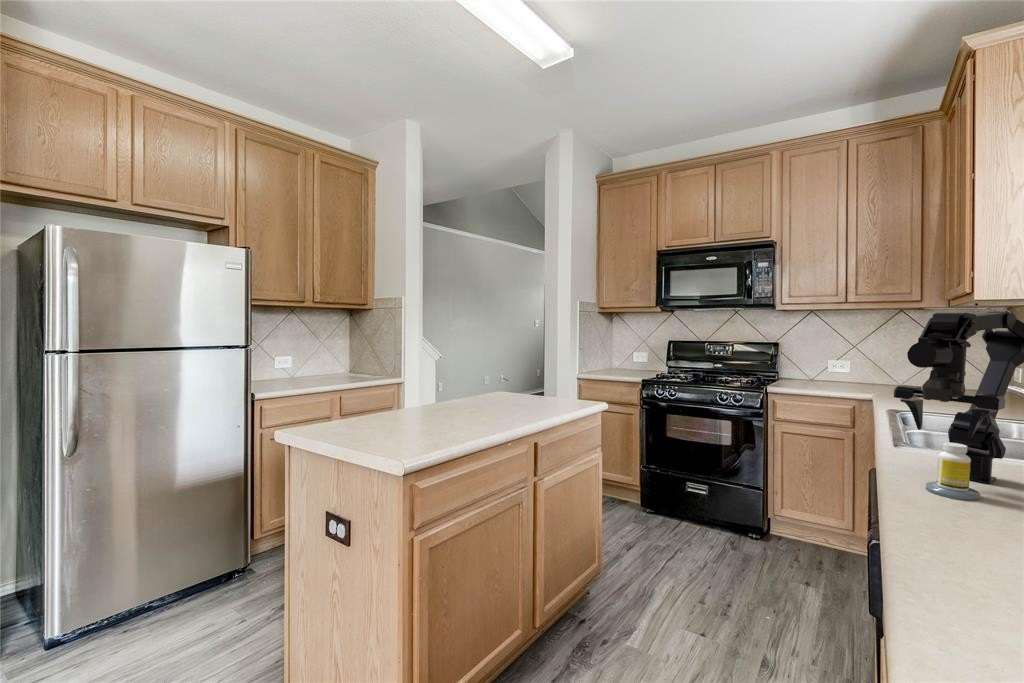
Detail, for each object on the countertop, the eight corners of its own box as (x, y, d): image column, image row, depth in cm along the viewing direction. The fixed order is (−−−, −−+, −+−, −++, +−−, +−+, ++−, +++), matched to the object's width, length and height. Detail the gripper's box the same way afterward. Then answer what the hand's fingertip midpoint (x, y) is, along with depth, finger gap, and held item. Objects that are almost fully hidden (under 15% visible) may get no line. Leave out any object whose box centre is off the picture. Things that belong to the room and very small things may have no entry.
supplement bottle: (975, 493, 107) (978, 448, 106) (946, 491, 108) (949, 446, 107) (958, 485, 112) (960, 442, 111) (930, 483, 113) (933, 440, 113)
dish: (933, 483, 116) (933, 478, 116) (985, 495, 109) (985, 490, 109) (919, 490, 111) (919, 485, 111) (972, 503, 104) (973, 498, 104)
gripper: (886, 364, 118) (882, 429, 118) (993, 372, 102) (988, 447, 103) (904, 362, 124) (900, 424, 125) (1008, 370, 108) (1002, 440, 109)
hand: (944, 433), depth 115 cm, fingers open, 9 cm apart
